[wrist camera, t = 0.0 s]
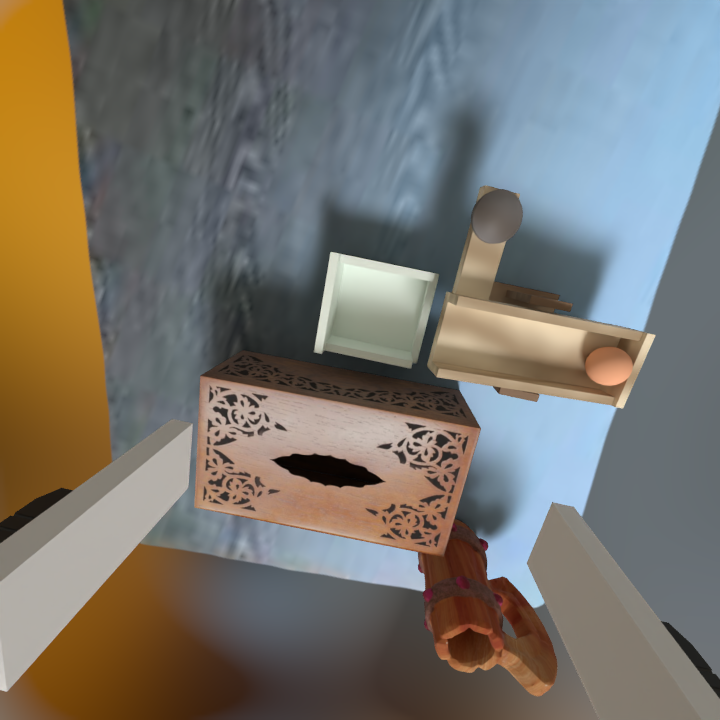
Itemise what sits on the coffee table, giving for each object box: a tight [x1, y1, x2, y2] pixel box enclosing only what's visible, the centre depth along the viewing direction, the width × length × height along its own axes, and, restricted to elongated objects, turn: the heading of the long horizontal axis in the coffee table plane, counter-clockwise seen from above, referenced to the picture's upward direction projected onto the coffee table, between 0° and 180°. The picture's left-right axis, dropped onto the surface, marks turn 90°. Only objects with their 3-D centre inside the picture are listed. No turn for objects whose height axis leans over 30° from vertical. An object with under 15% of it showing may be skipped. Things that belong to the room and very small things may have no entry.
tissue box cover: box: [195, 350, 481, 557], centre depth 38 cm, size 26×14×10 cm, turn 80°
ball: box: [585, 347, 633, 386], centre depth 31 cm, size 4×4×4 cm
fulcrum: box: [489, 282, 573, 402], centre depth 35 cm, size 10×7×7 cm
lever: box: [427, 185, 655, 408], centre depth 30 cm, size 16×18×3 cm
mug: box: [418, 519, 557, 696], centre depth 39 cm, size 15×8×15 cm, turn 63°
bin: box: [314, 252, 439, 369], centre depth 36 cm, size 10×11×6 cm
